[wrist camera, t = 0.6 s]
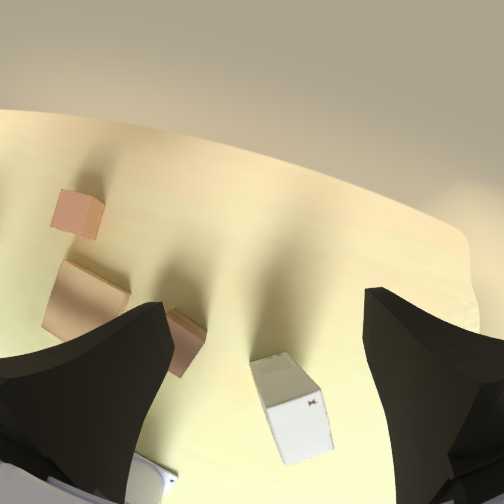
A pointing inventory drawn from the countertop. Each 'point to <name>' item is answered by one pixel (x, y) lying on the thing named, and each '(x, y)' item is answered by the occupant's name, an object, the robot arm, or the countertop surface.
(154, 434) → the countertop surface
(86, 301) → the oak slab
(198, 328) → the walnut block
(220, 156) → the countertop surface
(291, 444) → the skincare box
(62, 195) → the terracotta cube
